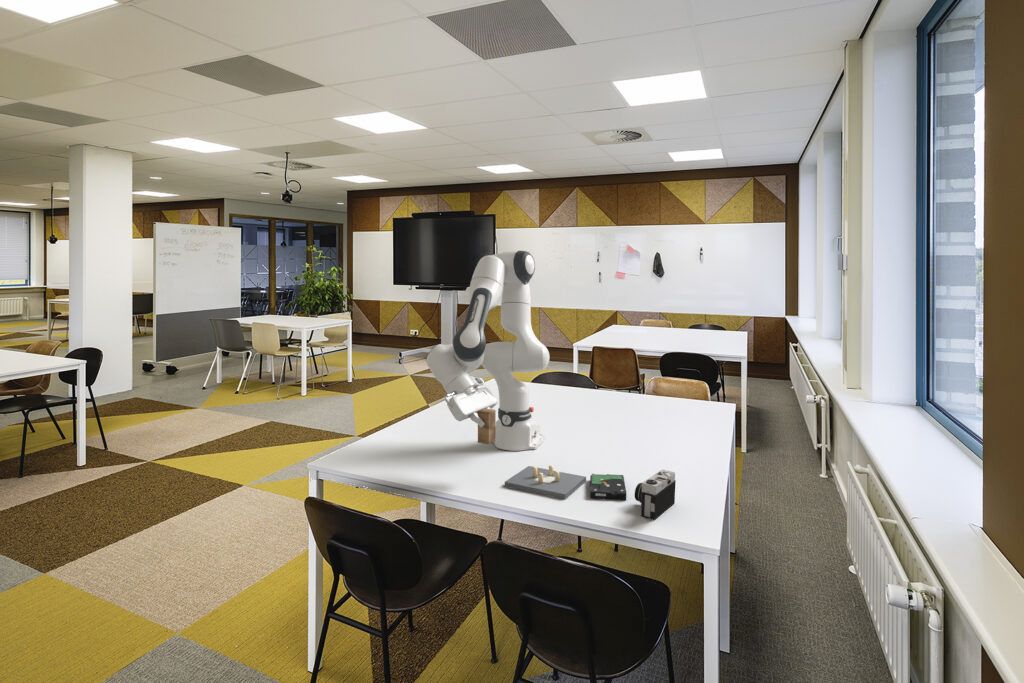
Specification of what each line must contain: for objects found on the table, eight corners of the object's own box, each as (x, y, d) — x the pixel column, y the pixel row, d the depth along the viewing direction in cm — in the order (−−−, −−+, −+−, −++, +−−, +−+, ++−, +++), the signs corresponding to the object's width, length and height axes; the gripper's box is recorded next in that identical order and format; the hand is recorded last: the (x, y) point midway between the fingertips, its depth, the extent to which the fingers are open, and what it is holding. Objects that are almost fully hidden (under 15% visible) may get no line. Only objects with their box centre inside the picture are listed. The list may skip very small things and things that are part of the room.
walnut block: (484, 439, 176) (484, 408, 175) (495, 441, 174) (495, 409, 173) (477, 442, 173) (477, 410, 171) (488, 444, 171) (488, 412, 169)
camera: (651, 496, 162) (653, 463, 160) (680, 506, 155) (682, 472, 154) (623, 510, 152) (626, 475, 151) (653, 522, 146) (655, 486, 144)
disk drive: (627, 502, 159) (623, 482, 174) (627, 493, 159) (623, 474, 173) (590, 500, 160) (589, 481, 175) (590, 491, 160) (589, 472, 174)
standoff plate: (528, 470, 183) (528, 457, 182) (586, 481, 173) (586, 467, 173) (504, 486, 169) (504, 472, 168) (565, 499, 159) (565, 484, 159)
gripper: (448, 389, 165) (476, 425, 162) (484, 377, 183) (510, 410, 180) (436, 401, 168) (463, 438, 165) (473, 389, 186) (498, 422, 182)
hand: (488, 423), depth 172 cm, fingers closed on walnut block, 4 cm apart
